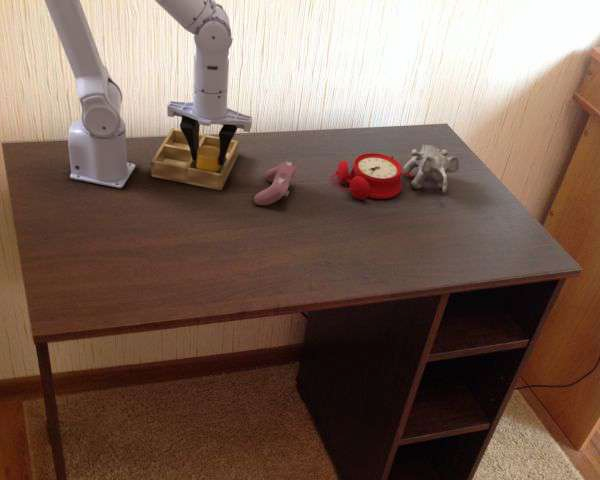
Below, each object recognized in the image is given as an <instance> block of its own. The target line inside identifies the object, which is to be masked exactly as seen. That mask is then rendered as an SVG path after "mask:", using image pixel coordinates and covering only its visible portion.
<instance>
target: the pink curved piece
mask: <svg viewBox="0 0 600 480" xmlns="http://www.w3.org/2000/svg"><path fill="white" fill-rule="evenodd" d="M297 168H298V166H296V165H295V164H294V163H292V162H289V161H288V160H285V161H282V162H281V163H280V164H279V165H277V166H274V167H272V168H270V169H268V170H267V171H266V172H265V174H264V175H265V176H264V178H265V180H266V181H267V182H270V183H272V184H271V185H270V186H269V187H267V188H266V189H263V190H261V191H259V192H258V193H256V194H255V195H254V197H253V201H254V204H256V205H257V206H268V205H270V204H273V203H275V202H278V201H279V200H281V199H282V198H283V196H284V197H288V195H289V193H290V190H288V189H289V187H290V181H291V179H292V178H293V176H294V175H295V172H296V170H297Z"/></svg>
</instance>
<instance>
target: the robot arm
mask: <svg viewBox="0 0 600 480" xmlns="http://www.w3.org/2000/svg"><path fill="white" fill-rule="evenodd" d="M154 1H155V2H156V4H158V5H159V6H160V7H161V8H162V9H163V11H165V12H166V13H167V14H168V15H169V16H170V17H171V18H173V20H175V21H176V22H177V23H178V25H180V26H181V27H182V28H183V29H184V30H185V31H187V32H189V33H190V34H192V35H194V36H193V40H194V43H195V54H194V55H193V93H192V95H193V97H192V98H193V99H192V100H193V101H175V100H170V101H169V102H168V104H167V106H166V113H167V115H166V117H170V118H174V117H179V118H181V120H180V123H179V130H181V131H182V132H183V134H184V136H185V138H186V140H187V142H188V145H189V148H190V151H191V156H192V160H196V156H197V149H198V148H199V134H200V128H201V127H200V126H205V127H210V126H212V125H220V126H222V127H221V128H220V130H219V131H218V137H219V140H220V154H219V165H223V164H224V162H225V159H226V154H227V150H228V147H229V144H230V142H231V140H233V138H234V136H235V134H236V133H237V130H238V129H241V130H243V132H245V133H250V132H251V129H252V127H253V116H252V115H251V116H250V115H247V114H244V113H241V112H238V111H235V110H233V109H231V108H228V92H229V72H230V71H229V69H230V59H229V55H230V48H231V47H232V44H233V40H234V39H233V37H232V30H231V23H230V18H229V16H228V14H227V12H226V10H225V9H224V7H223V6H222V4H220V3H217V1H215V0H154ZM44 3H45V6H46V8H47V11H48V13H49V16H50V18H51V21H52V23H53V25H54V28H55V32H56V34H57V36H58V39H59V41H60V44H61V46H62V48H63V51H64V54H65V56H66V59H67V61H68V64H69V67H70V69H71V71H72V74H73V76H74V79H75V84H76V90H77V96H78V100H79V103H80V105H81V116H80V117H81V119H80V120H74V121H73V122H72V123H71V125H70V127H69V130H68V134H67V135H68V136H67V146H68V147H67V148H68V155H69V161H70V162H69V163H70V164H69V165H70V174H69V178H70V179H72V180H76V181H81V182H86V183H91V184H96V185H102V186H105V187H106V186H107V187H110V188H111V187H112V188H117V189H122V188H123V187H124V186H125V184H126V183H127V181H128V180H129V178H130V177H131V175H132V174H133V172H134V170H135V169H136V164H135V163H131V162H128V149H127V133H126V123H125V121H124V119H123V118H122V116H121V112H122V111H121V109H122V102H123V92H122V90H121V88H120V86H119V85H118V83H116V82H115V81H114V80H113V79H112V77H111V75H110V73H109V70H108V68H107V66H106V65H104V63H103V61H102V59H101V56H100V53H99V50H98V47H97V45H96V44H97V43H96V42H95V39H94V36H93V34H92V30H91V28H90V25H89V22H88V19H87V17H86V14H85V11H84V9H83V6H82V2H81V0H44Z"/></svg>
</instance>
